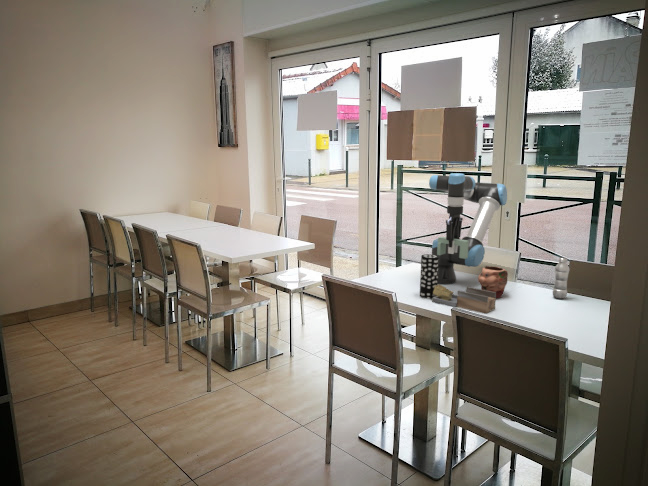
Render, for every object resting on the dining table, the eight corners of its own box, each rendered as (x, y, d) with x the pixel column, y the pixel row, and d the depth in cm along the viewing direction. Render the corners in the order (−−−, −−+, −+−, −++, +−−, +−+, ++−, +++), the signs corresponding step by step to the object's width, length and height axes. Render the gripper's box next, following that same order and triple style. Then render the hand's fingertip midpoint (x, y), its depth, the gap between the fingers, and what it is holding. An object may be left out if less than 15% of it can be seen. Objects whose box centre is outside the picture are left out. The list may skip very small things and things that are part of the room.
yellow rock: (443, 295, 247) (436, 291, 249) (446, 287, 245) (439, 284, 247) (439, 297, 244) (432, 293, 246) (442, 289, 242) (434, 286, 244)
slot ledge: (466, 301, 243) (467, 286, 241) (494, 308, 234) (496, 292, 232) (456, 306, 235) (457, 291, 234) (486, 313, 226) (487, 297, 225)
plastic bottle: (566, 297, 251) (570, 257, 247) (566, 300, 245) (570, 260, 241) (552, 295, 254) (556, 255, 250) (551, 299, 248) (555, 258, 244)
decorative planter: (493, 288, 264) (495, 262, 262) (515, 294, 255) (517, 267, 253) (470, 296, 252) (472, 268, 249) (492, 302, 243) (495, 273, 240)
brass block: (453, 292, 243) (451, 299, 244) (446, 288, 245) (443, 295, 247) (449, 293, 240) (447, 301, 242) (442, 290, 242) (439, 297, 244)
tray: (444, 296, 251) (444, 292, 251) (467, 301, 243) (467, 297, 243) (432, 301, 242) (432, 297, 242) (455, 307, 235) (455, 303, 234)
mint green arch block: (441, 252, 261) (442, 236, 259) (469, 257, 251) (470, 240, 250) (435, 254, 257) (436, 237, 255) (463, 259, 247) (464, 241, 245)
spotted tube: (437, 299, 247) (439, 258, 243) (419, 298, 248) (421, 257, 244) (436, 294, 255) (438, 254, 251) (419, 293, 256) (421, 253, 252)
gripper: (455, 203, 257) (453, 249, 262) (440, 206, 245) (437, 254, 250) (469, 204, 253) (466, 251, 257) (454, 207, 241) (451, 256, 245)
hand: (452, 252), depth 254 cm, fingers closed on mint green arch block, 3 cm apart
